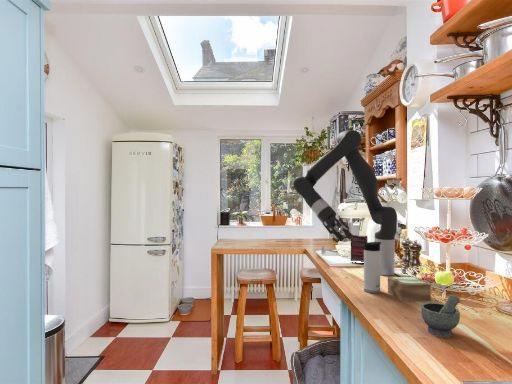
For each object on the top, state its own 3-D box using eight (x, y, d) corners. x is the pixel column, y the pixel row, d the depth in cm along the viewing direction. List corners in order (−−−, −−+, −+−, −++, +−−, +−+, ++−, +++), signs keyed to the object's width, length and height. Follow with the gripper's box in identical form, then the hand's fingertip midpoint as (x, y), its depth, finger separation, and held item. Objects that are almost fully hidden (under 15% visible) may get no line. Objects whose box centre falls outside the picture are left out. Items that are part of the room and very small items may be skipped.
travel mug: (382, 294, 130) (382, 243, 130) (364, 292, 131) (364, 242, 131) (379, 289, 136) (379, 240, 136) (362, 288, 137) (363, 240, 137)
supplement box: (367, 263, 188) (368, 235, 188) (365, 264, 184) (365, 236, 184) (352, 261, 193) (352, 234, 193) (350, 263, 189) (350, 235, 189)
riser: (387, 292, 132) (387, 276, 132) (414, 291, 133) (414, 276, 133) (402, 301, 121) (402, 284, 121) (430, 300, 122) (430, 283, 122)
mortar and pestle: (413, 327, 97) (413, 286, 97) (440, 324, 99) (440, 284, 99) (442, 344, 86) (442, 298, 86) (472, 340, 88) (472, 295, 88)
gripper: (320, 205, 141) (345, 234, 134) (336, 205, 152) (360, 232, 145) (309, 217, 145) (333, 246, 137) (325, 216, 156) (348, 243, 148)
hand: (347, 239), depth 141 cm, fingers open, 8 cm apart
